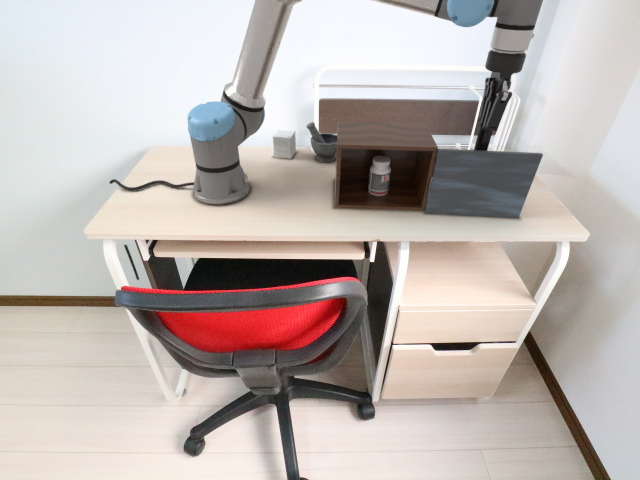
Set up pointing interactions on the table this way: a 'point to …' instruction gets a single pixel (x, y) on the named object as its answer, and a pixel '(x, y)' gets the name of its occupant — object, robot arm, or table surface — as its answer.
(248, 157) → the table surface
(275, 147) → the product box
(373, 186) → the pill bottle
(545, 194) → the table surface
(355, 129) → the cabinet
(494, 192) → the cabinet door
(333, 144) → the mortar and pestle
